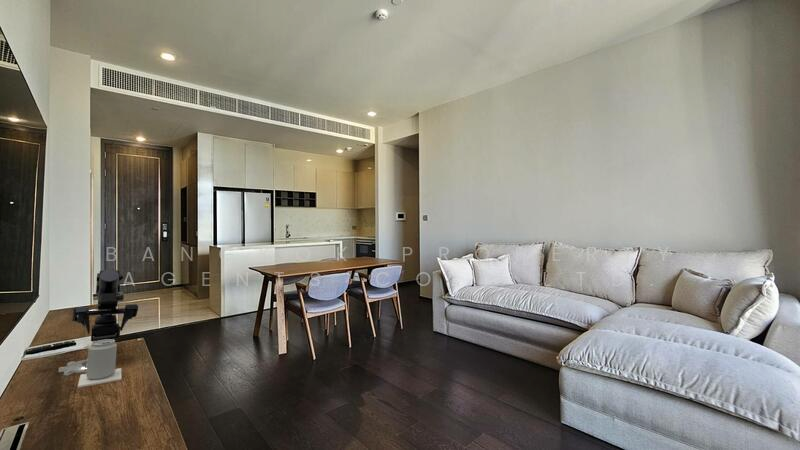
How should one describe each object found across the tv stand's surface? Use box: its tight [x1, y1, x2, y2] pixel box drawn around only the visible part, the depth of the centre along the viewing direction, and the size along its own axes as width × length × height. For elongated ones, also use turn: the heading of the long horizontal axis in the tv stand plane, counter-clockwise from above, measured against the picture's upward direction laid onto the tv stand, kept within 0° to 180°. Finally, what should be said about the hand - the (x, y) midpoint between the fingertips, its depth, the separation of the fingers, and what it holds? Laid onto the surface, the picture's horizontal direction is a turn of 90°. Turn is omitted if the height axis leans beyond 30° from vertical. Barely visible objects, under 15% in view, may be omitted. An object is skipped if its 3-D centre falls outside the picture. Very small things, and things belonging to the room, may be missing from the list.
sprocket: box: [57, 357, 88, 376], centre depth 127 cm, size 16×16×2 cm
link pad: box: [77, 367, 122, 389], centre depth 118 cm, size 11×11×1 cm
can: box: [87, 338, 118, 380], centre depth 118 cm, size 8×8×12 cm
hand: (105, 331), depth 126 cm, fingers open, 9 cm apart
